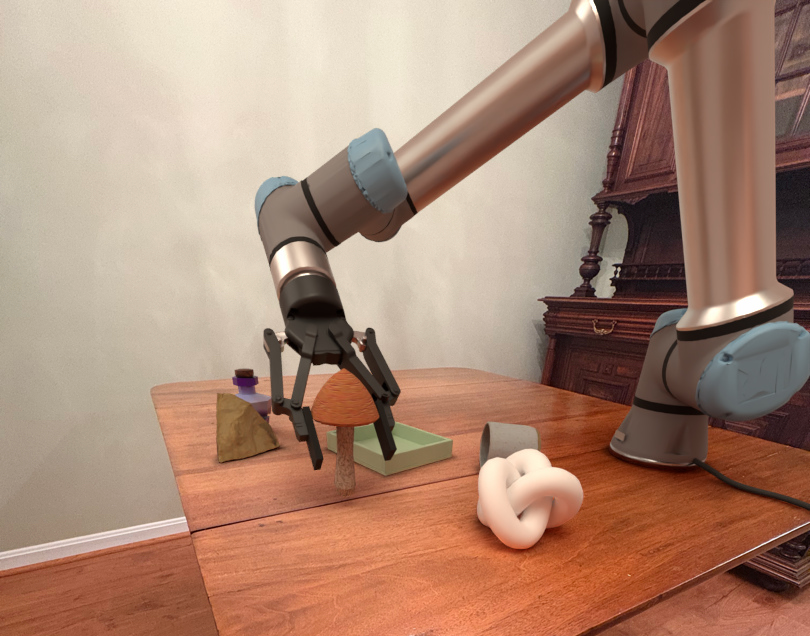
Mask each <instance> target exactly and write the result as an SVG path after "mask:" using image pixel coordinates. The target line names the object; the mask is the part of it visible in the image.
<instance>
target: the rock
mask: <svg viewBox="0 0 810 636" xmlns="http://www.w3.org/2000/svg"><path fill="white" fill-rule="evenodd" d="M215 407H216V408H215V409H216V411H215V418H216V423H215V424H216V434H215V440H216V442H215V443H216V453H217V460H218V462H219V463H221V464H222V463H224V462H227V461H233V460H234V461H235V460H241V459H245V458H249V457H253V456H256V455H258V454H261V453H265V452H267V451H270V450H274V449H277V448H279V447H281V444H280V442H279V438H278V437H277V436H276V434H275V431H274V429H273V427H272V426H271V424H270V422H269V423H268V422H267V421H265V420H264V419H263V418H262V417H261V416H260V414H259V413H258V412H257V411H256V410H255V409H254V408H253V406H252V404H251V403H249V402H247V401H245V400H243V399H241V398H239V397H237V396H236V395H235V394H233V393H231V392H230V393H229V392H223V393H222V392H221V393H220V392H217V393H216V404H215Z"/></svg>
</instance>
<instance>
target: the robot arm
mask: <svg viewBox="0 0 810 636" xmlns="http://www.w3.org/2000/svg"><path fill="white" fill-rule="evenodd" d="M776 3H777V0H571V1H570V4H569V6H568V10H567V11H566V12H565V13H563V14H562V15H561V16H560V17H558V18H557V20H555V21H554V22H553V23H552V24H550V25H549V26H548V27H546V28H545V29H544V30H543V31H542V32H540V33H538V34H537V36H535V37H534V38H533V39H531V40H530V41H529V42H528V43H526V45H524V46H523V47H522V48H521V49H520V50H518V51H517V52H516V53H515V54H514V55H512V56H511V57H510V58H508V59H507V60H506V61H505V62H504V63H502V64H501V65H499V66H498V67H497V68H496V69H495V70H493V72H491V73H490V74H489V75H487V76H486V77H485V78H484V79H482V81H480V82H479V83H477V84H476V85H475V86H474V87H473V88H472V89H470V90H469V91H468V92H467V93H465V94H464V95H463V96H462V97H460V98H459V99H457V100H456V102H454V103H453V104H452V105H450V106H449V107H448V108H447V109H446V110H445V111H443V112H442V113H441V114H440V115H438V116H436V118H435V119H433V120H432V121H431V122H430V123H428V124H427V125H425V127H424V128H422V129H421V130H420V131H419V132H417V133H416V134H415V135H414V136H413V137H411V138H410V139H409V140H408V141H406V142H405V143H404V144H403V145H402V146H400V147H399V148H398V149H396V151H394V150H393V148H392V146H391V144H390V141H389V138H388V136H387V134H386V133H385V131H384V130H383V129H381V128H380V127H375V128H374V127H373V128H372V129H370V130H369V131H367V132H366V133H364V134H362V135H360V137H357V138H353V139H352V140H351V141H350V142H349V144H348V145H347V146H345V147H344V148H343V149H342V150H340V151H339V152H338V153H337V154H335V155H334V156H332V158H330V159H329V160H327V161H326V162H325V163H323V164H322V165H321V166H320V167H318V168H316V169H315V170H314V171H313V172H312V173H310V174H309V175H308V176H307V177H305V178H304V179H303V180H302V179H301V180H299V181H298V180H297V179H295V178H293V177H291V176H288V175H280V176H275V177H274V176H271V177H269V178H267V179H266V180H264V181H263V182H262V183H261V184H260V186H259V187H258V189H257V191H256V194H255V197H254V212H255V218H256V226H257V227H256V228H257V232H258V235H259V237H260V241H261V243H262V245H263V249H264V253H265V256H266V260H267V263H268V266H269V271H270V275H271V278H272V282H273V286H274V289H275V294H276V297H277V300H278V305H279V309H280V313H281V316H282V320H283V323H284V327H285V328H284V331H283V330H282V331H277V332H275V331H274V329H272V328H270V327H266V328H264V329H263V333H262V334H263V340H262V341H263V342H262V343H263V346H262V348H263V350H264V353H265V355H266V356H267V358H268V360H269V362H268V363H269V378H270V379H269V380H270V396H271V402H272V407H271V413H272V414H273V415H275V416H282V415H285V416H286V417H287V416H288V420H289V421H290V422H291V424H292V427H293V431H294V435H295V438H296V440H297V441H298V442H299V443H303V442H306V447H307V449H308V453H309V457H310V461H311V465H312V468H313V471H320V470H321V469H322V466H323V463H324V460H325V459H324V458H325V457H324V455H323V451H322V447H321V444H320V443H321V442H320V440H319V436H318V433H317V429H316V425H315V420H314V419H313V418H312V414H311V407H310V406H309V405H307V406H303V403H304V398H305V394H306V389H307V385H308V381H309V375H310V371H311V367H312V366H315V367H316V366H323V365H331V366H337V367H338V369H339V371H340V370H342V369H343V368H345V369H346V370H347V371H349V372H350V373H352V374H353V375H355V376H356V377H357V378H358V379H359V380H360V381H361V383H362V384H363V385H364V386H365V387H366V389H367V390H368V392H369V393H370V395H371V397H372V399H373V401H374V403H375V405H376V408H377V411H378V414H379V418H378V419H377V420H376V421H375V422H374V423H373V424H374V427H375V431H376V434H377V437H378V441H379V444H380V447H381V450H382V454H383V457H384V460H385V461H388V460H391V459H392V457H393V455H394V454H395V452H396V450H397V448H396V445H395V442H394V438H393V435H392V430H393V428H394V426H395V421H396V420H395V417H394V415H393V412H392V408H391V407H393V406H395V405H396V403H397V401H398V399H399V397H400V395H401V394H402V393H401V391H402V390H401V388H400V386H399V383H398V382H397V380H396V378H395V376H394V374H393V372H392V371H391V369H390V367H389V364H388V363H387V361H386V358H385V356H384V355H383V353H382V351H381V349H380V347H379V345H378V343H377V335H376V331H375V329H374V328H372V327H366V329H365V331H358V330H354V328H353V327H352V326H351V325H350V324H349V322H348V320H347V317H346V313H345V309H344V306H343V303H342V299H341V297H340V293H339V290H338V287H337V283H336V280H335V277H334V273H333V271H332V267H331V264H330V261H329V257H328V254H327V253H328V252H330V251H331V250H334V248H336V247H338V246H340V245H342V243H343V242H345V241H347V240H349V239H350V238H351V237H353V236H355V235H356V234H358V233H359V234H360V235H361V236H362V237H363V238H364V239H366V240H368V241H370V242H374V243H385V242H388V241H390V240H392V239H394V238H395V237H396V236H397V235H398V233H399V231H400V230H401V229H402V227H403V226H404V225H405V224H406V223H408V222H409V221H410V220H412V219H413V218H414V217H415V216H416V215H418V214H419V213H420V212H421V211H423V210H424V209H426V207H428V206H429V205H431V204H432V203H434V202H435V201H436V200H438V199H439V198H440V197H441V196H443V195H445V193H447V192H448V191H450V190H451V189H452V188H454V187H455V186H457V185H458V184H459V183H461V182H462V181H464V180H465V179H467V177H469V176H470V175H471V174H473V173H474V172H476V171H477V170H479V169H480V168H481V167H482V166H484V165H485V164H487V163H488V162H489V161H491V160H492V159H493V158H495V157H496V156H498V155H499V154H500V153H501V152H503V151H504V150H506V149H507V148H509V147H510V146H511V145H512V144H514V143H516V142H517V141H518V140H520V138H522V137H524V136H525V135H526V134H527V133H529V132H530V131H532V130H533V129H534V128H536V127H537V126H538V125H540V124H541V123H542V122H544V121H545V120H546V119H548V118H549V117H550V116H552V115H553V114H555V113H556V112H557V111H558V110H561V108H563V107H564V106H565V105H567V104H568V103H569V102H572V100H573V99H576V98H577V97H578V96H579V95H580V94H582V93H583V92H585V91H587V92H589V93H593V94H597V93H598V92H600V91H602V90H603V89H604V88H606V87H607V86H608V85H610V84H611V83H613V82H614V81H616V80H617V79H619V78H621V76H623V75H625V74H626V73H627V72H629V71H631V70H632V69H634V68H635V67H636V66H638V65H640V64H641V63H642V62H644V61H645V60H647V59H649V61H650V62H653V63H655V64H657V65H660V66H662V67H663V68H665V69H666V70H667V77H668V79H667V81H668V89H669V90H668V91H669V103H670V114H671V124H672V126H671V127H672V135H673V136H672V137H673V147H674V158H675V159H674V160H675V169H676V180H677V181H676V182H677V192H678V193H677V194H678V202H679V203H678V205H679V215H680V216H679V217H680V228H681V237H682V239H681V240H682V251H683V260H684V273H685V284H686V295H687V308H686V307H685V308H684V307H683V308H676V309H672V310H667V311H665V312H663V313H662V314H660V316H659V317H658V318H657V319H656V321H655V324H654V327H653V330H652V332H651V333H650V336H649V342H648V346H647V350H646V354H645V356H644V361H643V365H642V368H641V372H640V375H639V379H638V383H637V386H636V390H635V394H634V397H633V401H632V405H631V406H630V410H629V411H628V413H627V414H626V416H625V417H624V418H623V420H622V422H621V423H620V425H619V427H618V428H617V429H615V433H614V434H613V436H612V438H611V441H610V442H609V447H608V452H609V453H610V454H611V455H612V456H614V457H616V458H617V459H620V460H622V461H624V462H626V463H630V464H634V465H637V466H640V467H641V466H642V467H645V468H651V469H657V470H664V471H694V470H698V469H700V468H701V470H704V471H706V472H707V473H709V474H711V475H712V476H714V477H715V478H716V479H718V480H719V481H720V482H722V483H724V484H726V485H728V486H731V487H733V488H735V489H738V490H740V491H744V492H748V493H751V494H755V495H759V496H762V497H765V498H769V499H774V500H776V501H781V502H783V503H786V504H790V505H793V506H795V507H798V508H801V509H803V510H806V511H808V512H810V502H806V501H803V500H800V499H798V498H795V497H792V496H790V495H784V494H783V493H778V492H775V491H771V490H767V489H762V488H759V487H755V486H752V485H748V484H745V483H741V482H739V481H737V480H734V479H732V478H730V477H728V476H727V475H724V474H723V473H722V472H720V471H718V470H717V469H716V468H715V467H713V466H710V464H708V463H706V461H707V459H708V453H709V418H713V419H717V420H718V419H720V420H722V421H727V422H734V423H735V422H736V423H737V422H739V423H740V422H747V421H752V420H757V419H759V418H762V417H764V416H767V415H770V414H771V413H773V412H775V411H776V410H778V409H780V408H781V407H783V406H785V404H787V403H788V402H789V401H790V399H791V398H793V396H794V395H795V394H796V393H797V392H800V391H801V389H802V388H803V387H804V385H805V384H806V383H807V382H808V380H809V378H810V331H808V330H806V328H805V327H804V326H802V325H800V324H799V323H797V322H795V323H794V317H795V315H794V314H795V313H794V312H795V310H794V308H795V306H794V305H795V304H794V303H795V302H794V299H795V294H794V290H793V288H791V287H788V286H787V285H785V284H783V283H781V282H779V281H778V279H777V227H776V226H777V225H776V224H777V223H776V222H777V215H776V214H777V213H776V212H777V211H776V209H777V207H776V206H777V205H776V200H777V199H776V198H777V197H776V196H777V195H776V191H777V190H776V46H775V45H776V44H775V43H776V37H775V35H776V34H775V32H776V31H775V29H776V28H775V26H776V24H775V20H776V19H775V17H776V16H775V12H776V11H775V7H776ZM352 343H353V344H355V345H356V346H357V348H358V352H360V353H362V356H363V359H364V361H365V364H366V365H367V367H368V368H367V367H366V365H365V364H364V363H363V362H362V360H361V359H360V358H359V357H358V356H357V352H356V349H355V347H354V346H353V345H352ZM285 345H287V346H288V347H289V348H290V349H292V350H293V351H294V352H295V353H296V354H297V355H299V357H300V358H299V362H298V367H297V370H296V376H295V380H294V385H293V389H292V393H291V397H290V398H286V397H285V396H284V395H285V394H284V379H283V377H284V376H283V360H282V359H283V358H282V353H283V352H284V351H285Z"/></svg>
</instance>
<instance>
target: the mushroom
mask: <svg viewBox="0 0 810 636" xmlns="http://www.w3.org/2000/svg"><path fill="white" fill-rule="evenodd" d="M311 405H312V406H311V407H310V410H311V414H312V418H313V421H314V422H316V423H318V424H321V425H325V426H329V427H335V428H336V429H335V430H336V435H337V453H336V461H335V463H336V464H335V470H334V472H335V473H334V482H333V483H334V489H335V493H336V494H337V495H338V496H340V497H344V498H346V497H350V496H354V494H355V493H356V486H357V479H356V469H355V462H354V456H353V447H354V427H358V426H364V425H369V424H371V423H374V422H375V421H376V420H377V419H378V418H379V414H378V411H377V408H376V405H375V403H374V401H373V399H372V397H371V395H370V393H369V392H368V390H367V389H366V387H365V386H364V385H363V384H362V383H361V381H360V380H359V379H358V378H357V377H356V376H355V375H353V374H352V373H350V372H349V371H347V370H346V369H345V368H343V369H342V370H340V369H339V370H338V371H337V372H335V373H334V374H333V375H331V376H330V377H329V378H328V379H327V380H326V381H325V383H324V384H323V385H322V387H321V388H320V389H319V390H318V392H317V394H316V396H315V399H313V403H312V404H311Z"/></svg>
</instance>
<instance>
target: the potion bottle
mask: <svg viewBox="0 0 810 636" xmlns="http://www.w3.org/2000/svg"><path fill="white" fill-rule="evenodd" d="M231 378H232V385H233V386H236V387H237V389H238V393H235V394H234V395H236V396H237V397H239V398H241V399H243V400H245V401H247V402H249V403H251V404H252V406H253V408H254V409H255V410H256V411H257V412H258V413H259V414H260V416H261V417H262V418H263V419H264V420H265V421H267V422H268V423H269V424H270V415H271V414H272V402H271V395H267V394H264V393H260V392H256V391H257V390H256V386H257V385H259V376H257V375H255V372H254V368H236V369H234V376H232V377H231Z"/></svg>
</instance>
